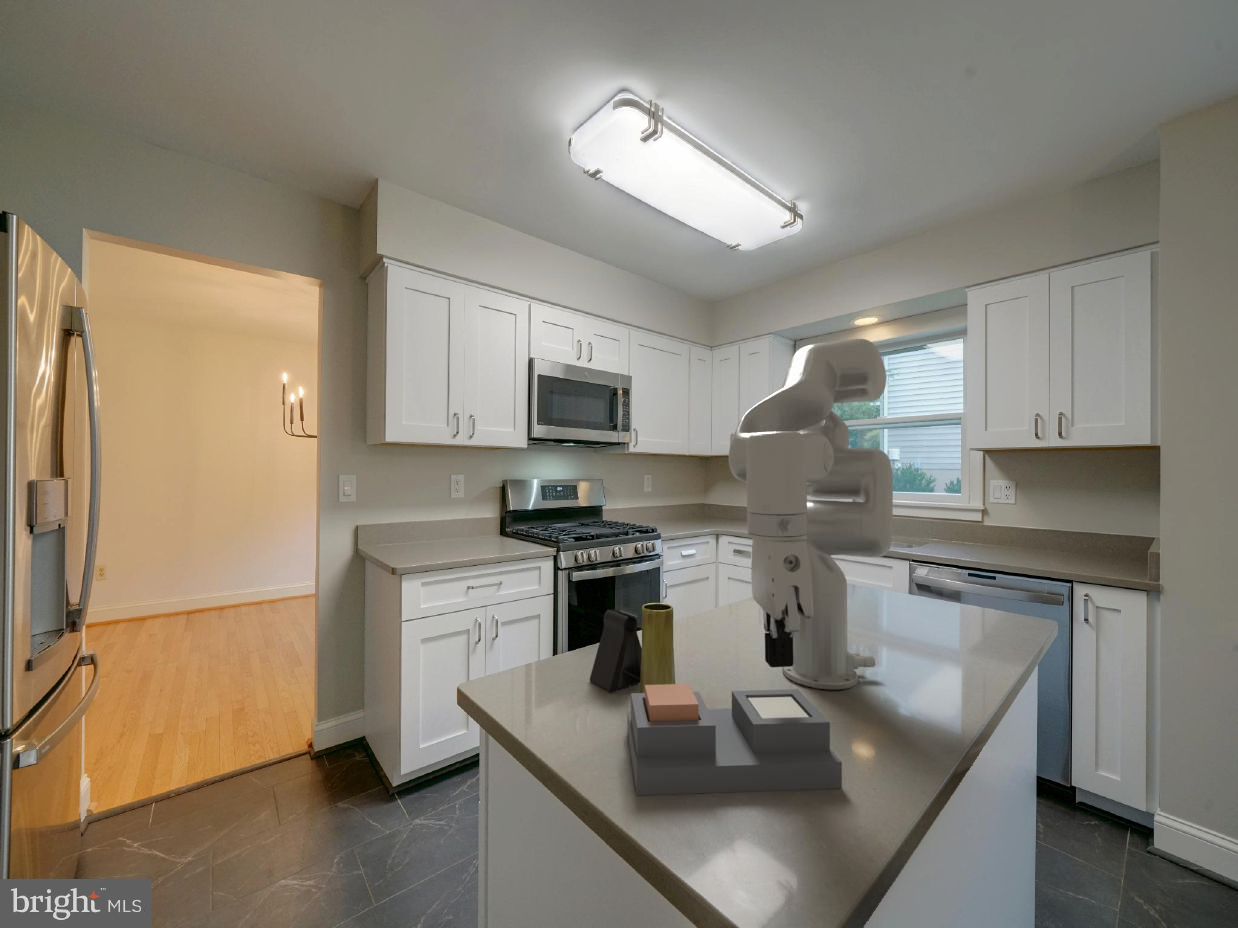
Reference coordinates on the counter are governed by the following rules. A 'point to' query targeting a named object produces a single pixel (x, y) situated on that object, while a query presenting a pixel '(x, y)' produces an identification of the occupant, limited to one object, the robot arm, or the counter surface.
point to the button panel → (732, 749)
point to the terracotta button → (670, 703)
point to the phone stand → (617, 653)
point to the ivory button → (777, 707)
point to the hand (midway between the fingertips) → (779, 664)
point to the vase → (657, 645)
